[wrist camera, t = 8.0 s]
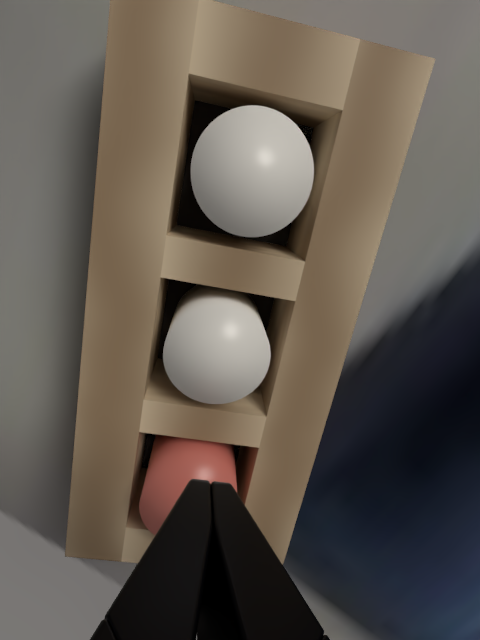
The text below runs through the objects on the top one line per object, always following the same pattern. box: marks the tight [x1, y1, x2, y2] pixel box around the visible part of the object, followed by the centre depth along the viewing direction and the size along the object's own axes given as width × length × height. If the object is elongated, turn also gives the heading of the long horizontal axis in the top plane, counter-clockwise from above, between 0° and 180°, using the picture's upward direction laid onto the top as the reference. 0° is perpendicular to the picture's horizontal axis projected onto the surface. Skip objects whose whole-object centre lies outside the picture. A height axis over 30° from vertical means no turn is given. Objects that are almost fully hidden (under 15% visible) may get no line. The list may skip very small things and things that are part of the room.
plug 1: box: [191, 105, 314, 237], centre depth 15 cm, size 4×4×4 cm
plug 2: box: [163, 284, 271, 404], centre depth 17 cm, size 4×4×4 cm
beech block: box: [65, 0, 435, 565], centre depth 17 cm, size 10×22×4 cm, turn 169°
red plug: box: [139, 434, 237, 535], centre depth 18 cm, size 4×4×4 cm
